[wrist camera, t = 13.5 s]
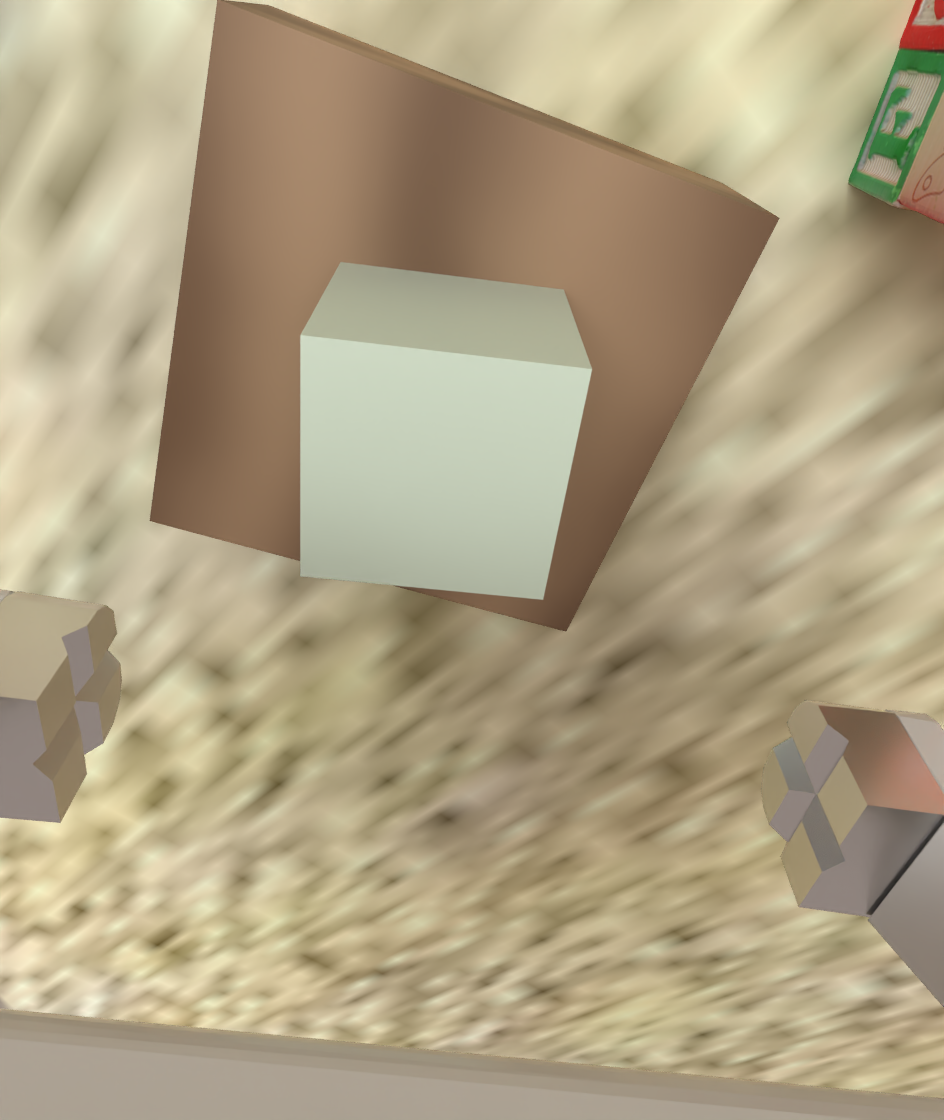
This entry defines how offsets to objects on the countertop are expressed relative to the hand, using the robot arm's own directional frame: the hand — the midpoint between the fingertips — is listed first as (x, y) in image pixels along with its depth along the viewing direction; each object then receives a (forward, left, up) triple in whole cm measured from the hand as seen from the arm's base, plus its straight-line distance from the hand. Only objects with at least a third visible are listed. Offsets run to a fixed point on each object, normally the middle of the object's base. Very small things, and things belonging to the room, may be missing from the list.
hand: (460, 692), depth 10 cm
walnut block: (+1, +1, -16) cm, 16 cm away
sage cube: (0, +1, -11) cm, 11 cm away
